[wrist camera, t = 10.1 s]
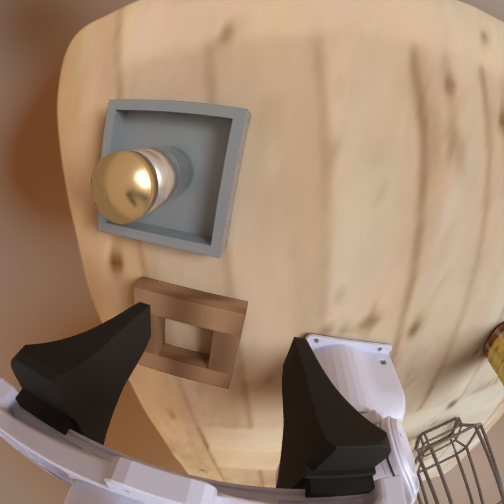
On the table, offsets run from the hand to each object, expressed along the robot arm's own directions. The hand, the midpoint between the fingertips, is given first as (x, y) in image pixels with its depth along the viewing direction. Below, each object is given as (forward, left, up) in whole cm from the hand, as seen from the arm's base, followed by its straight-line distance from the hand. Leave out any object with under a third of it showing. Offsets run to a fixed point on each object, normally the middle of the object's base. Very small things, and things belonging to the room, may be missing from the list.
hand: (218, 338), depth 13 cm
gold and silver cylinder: (+7, -6, -10) cm, 13 cm away
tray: (+7, -6, -10) cm, 14 cm away
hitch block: (+4, +9, -10) cm, 14 cm away
